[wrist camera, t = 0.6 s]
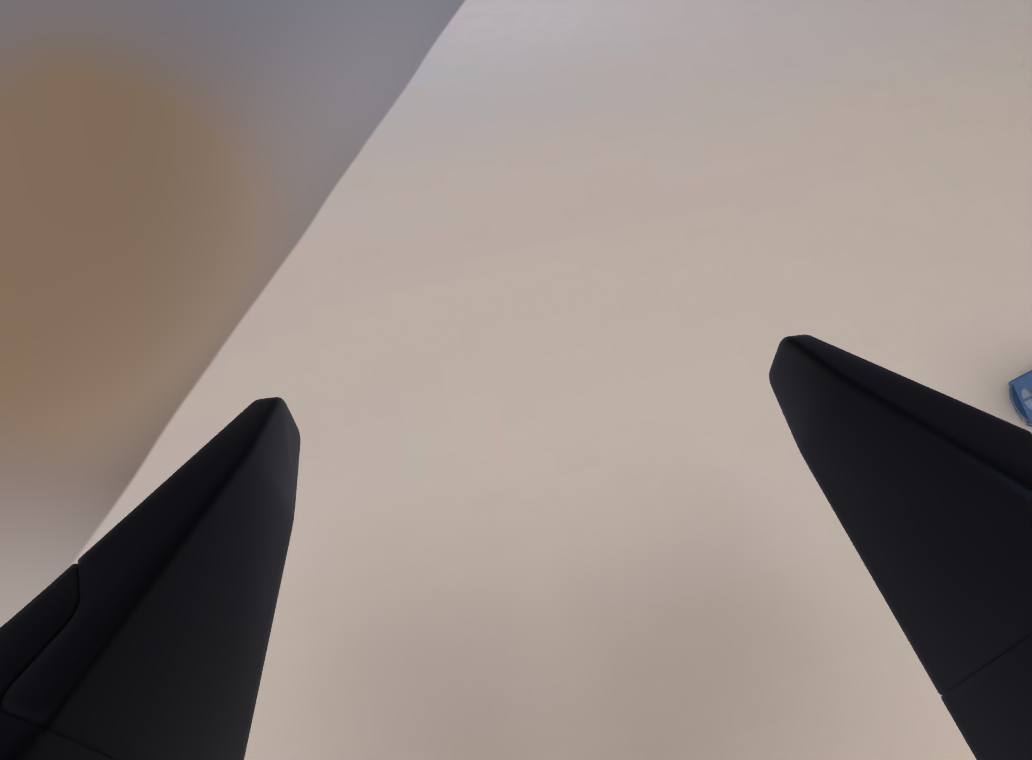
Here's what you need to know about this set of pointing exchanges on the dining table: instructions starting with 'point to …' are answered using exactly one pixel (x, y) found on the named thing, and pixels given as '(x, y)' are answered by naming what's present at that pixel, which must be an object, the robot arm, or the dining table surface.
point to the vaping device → (1022, 396)
